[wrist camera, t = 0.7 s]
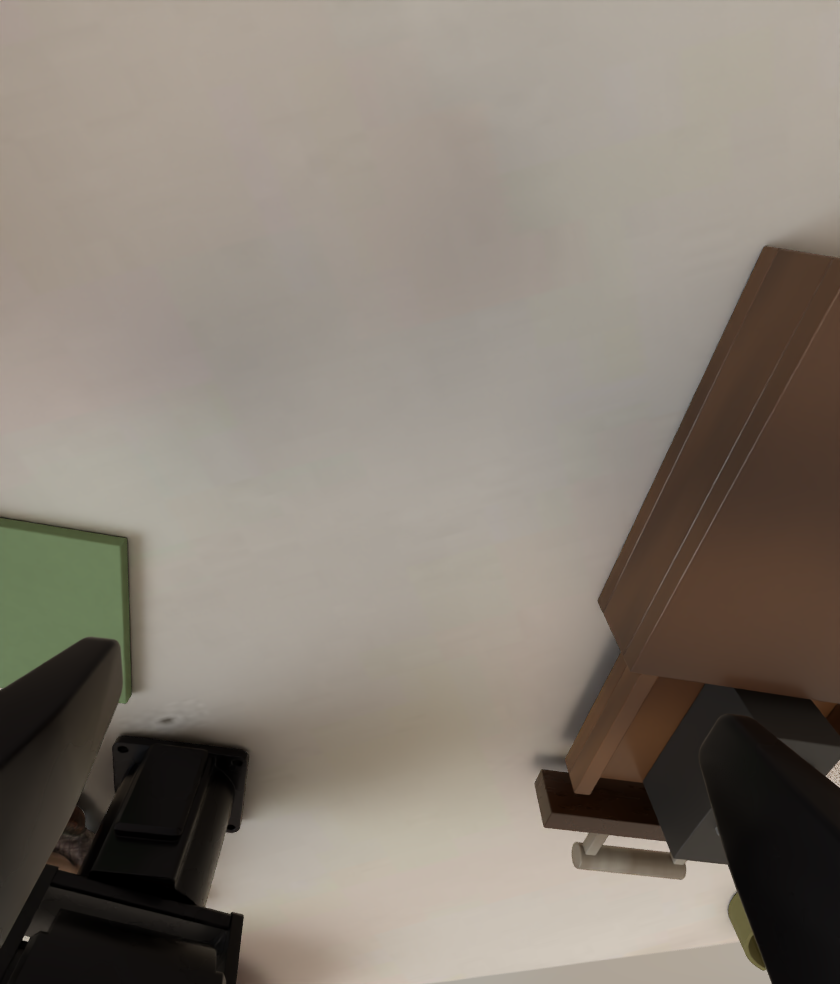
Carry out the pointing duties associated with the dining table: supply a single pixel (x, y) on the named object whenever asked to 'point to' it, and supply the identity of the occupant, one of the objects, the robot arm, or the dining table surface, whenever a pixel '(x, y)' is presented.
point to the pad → (59, 595)
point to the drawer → (623, 772)
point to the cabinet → (747, 504)
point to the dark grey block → (680, 776)
